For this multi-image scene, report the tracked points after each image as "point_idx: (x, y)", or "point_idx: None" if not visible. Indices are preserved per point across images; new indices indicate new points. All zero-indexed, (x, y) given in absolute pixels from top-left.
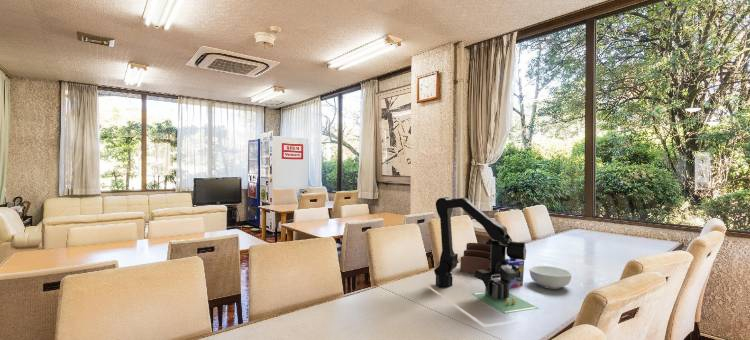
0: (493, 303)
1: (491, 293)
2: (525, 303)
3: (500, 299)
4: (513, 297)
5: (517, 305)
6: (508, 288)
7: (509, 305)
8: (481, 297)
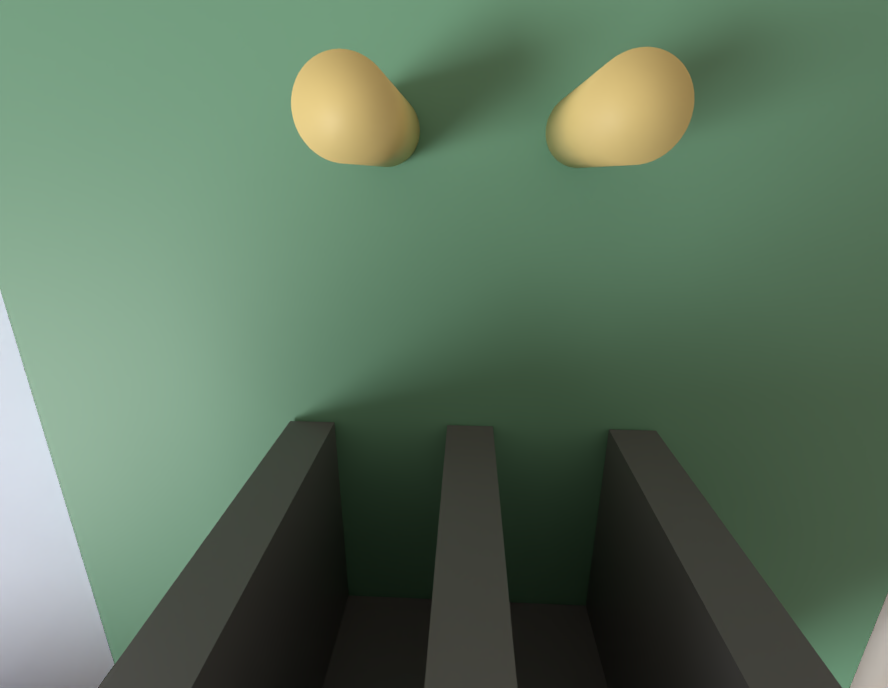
0: (845, 325)
1: None
2: (39, 69)
3: None
4: (336, 136)
5: (340, 14)
6: (171, 636)
7: (560, 84)
8: None
